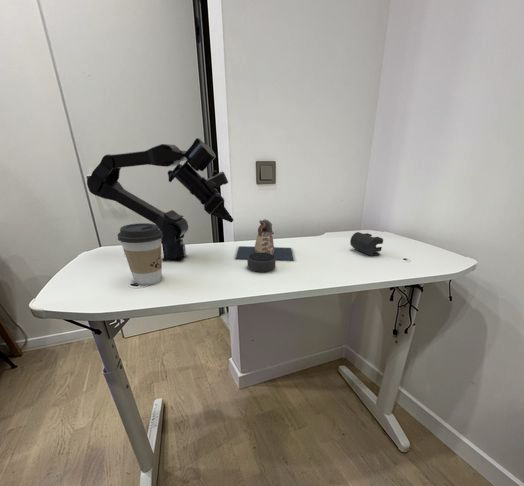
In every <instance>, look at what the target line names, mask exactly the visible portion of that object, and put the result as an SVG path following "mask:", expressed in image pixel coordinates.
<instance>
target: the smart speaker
mask: <svg viewBox="0 0 524 486" xmlns="http://www.w3.org/2000/svg"><path fill="white" fill-rule="evenodd" d="M276 262H277V260H276V259H275V257H274V256H273V255H271V254H268V253H254V254H251V255H249V256H248V260H247V268H248V269H249V270H250V271H252V272H256V273H267V272H271V271H273V270H274V269H275V268H276Z"/></svg>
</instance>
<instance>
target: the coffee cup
mask: <svg viewBox="0 0 524 486" xmlns="http://www.w3.org/2000/svg"><path fill="white" fill-rule="evenodd" d="M162 237H163V234H162V231H161V230H160V229H159V228H158V226H157V225H156V224H155V223H147V222H145V223H144V222H141V223H140V222H139V223H131V224H130V223H129V224H126V225H123V226H120V228H119V232H118V233H117V240H118V241H119V242H120V244H121V247H122V250H123V252H124V256H125V259H126V261H127V264H128V267H129V270H130V273H131V276H132V278H133V281H134V283H136V284H137V285H140V286H150V285H155V284H157V283H159V282H161V281H162V277H163V273H162V272H163V271H162V270H163V268H162V267H163V266H162V265H163V264H162V262H163V261H162V259H163V258H162V255H163V251H162V244H161V238H162Z"/></svg>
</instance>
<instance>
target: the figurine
mask: <svg viewBox="0 0 524 486" xmlns="http://www.w3.org/2000/svg"><path fill="white" fill-rule="evenodd" d="M258 222H259V224H260V225H259V226H258V229H257V235H256V238H255V244H254V247H255V252H256V253H268V254H271V255H273V253H274V247H275V244H274V237H273V235H274V234H275V232H274V231H273V223H272V222H271V221H270V220H269V219H266V218H264V219H263V220H262V219H260V220H259V221H258Z"/></svg>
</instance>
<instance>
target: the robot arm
mask: <svg viewBox="0 0 524 486" xmlns="http://www.w3.org/2000/svg"><path fill="white" fill-rule="evenodd" d="M216 158H217V156H216V153H215V152H214V150H213V149H212V148H211V147H210V146H208V145H207V144H206V143H205V142H204V141H203V140H201V138H199V137H198V138H195V140H193V143H192V144H191V145H190V147H188V149H187V150H180V148H179V147H178V146H177V145H175V144H171V143H170V144H168V143H162V144H158V145H155V146H152V147H151V148H149V149H146V150H142V151H134V152H125V153H117V154H116V153H115V154H114V153H113V154H105V155H103V156H102V158H101V161H100V162H99V164H98V165H97V166H96V167H95V168H94V169H93V170H92V172H91V175H90V176H89V177H88V178H87V179H86V185H87V189H88V191H89V192H90V194H92V195H94V196H96V197H99V198H102V199H105V200H109V201H114V202H116V203H118V204H120V205H121V206H123V207H125V208H127V209H128V210H130V211H132V212H134V213H136V214H137V215H139V216H140V217H142V218H144V219H146V220H147V221H149V222H151V223H152V224H155V225H157V226H158V228H159V230H161V231H162V234H163V237H162V238H161V249H162V255H163V258H162V262H182V261H183V260H184V259H185V257H187V251H186V244H185V243H184V238H185V235H186V233H188V230H189V223H188V221H187V220H186V219H185V218H184V215H182V214H179V213H178V212H176V211H175V210H173V209H172V210H169V211H166V212H165V211H163V210H160V209H159V208H157V207H155V206H153V205H152V204H150V203H149V202H147V201H145V200H143V199H142V198H139V196H137V195H135V194H133V193H131V192H130V191H128V190H126V189H125V188H124V187H123V186H122V184H121V183H120V182H119V180H120V175H121V173H120V172H121V169H123V168H131V167H139V166H148V165H149V166H156V167H164V168H166V167H167V168H169V167H174V168H173V169H172V170H171V169H169V170H168V171H167V176H168V183H172V182H173V181H174V179H176V180H177V181H178V182H179V183H180V184H181V185H182V186H183V187H184V188H185V189H186V190H187V191H189V193H190V195H193V196H194V197H195V198H196V199H197V200H198V201H199V202H200V204H201V205H203V209H204V211H205V212H206V213H207V214H208V215H210V216H213V217H216V218H218V219H220V220H224V221H226V222H229V223H233V222H234V218H233V217H232V215H231V213H230V212H229V211H228V209H227V208H226V207H225V198H224V197H223V196H222V195H221V194H220V192H219V191H218V189H217V188H219V187H222V186H224V185H227V184H229V180H228V178H227V176H226V173H225V172H224V171H219V172H218V171H217V170H213V171H211V176H210V177H209V178H205V177H204V176H202V175H201V174H199V171H200V172H205V170H206V169H207V167H209V165H211V163H212V162H213V161H214V160H215V159H216ZM183 161H184V163H183V164H181V162H183Z"/></svg>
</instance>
